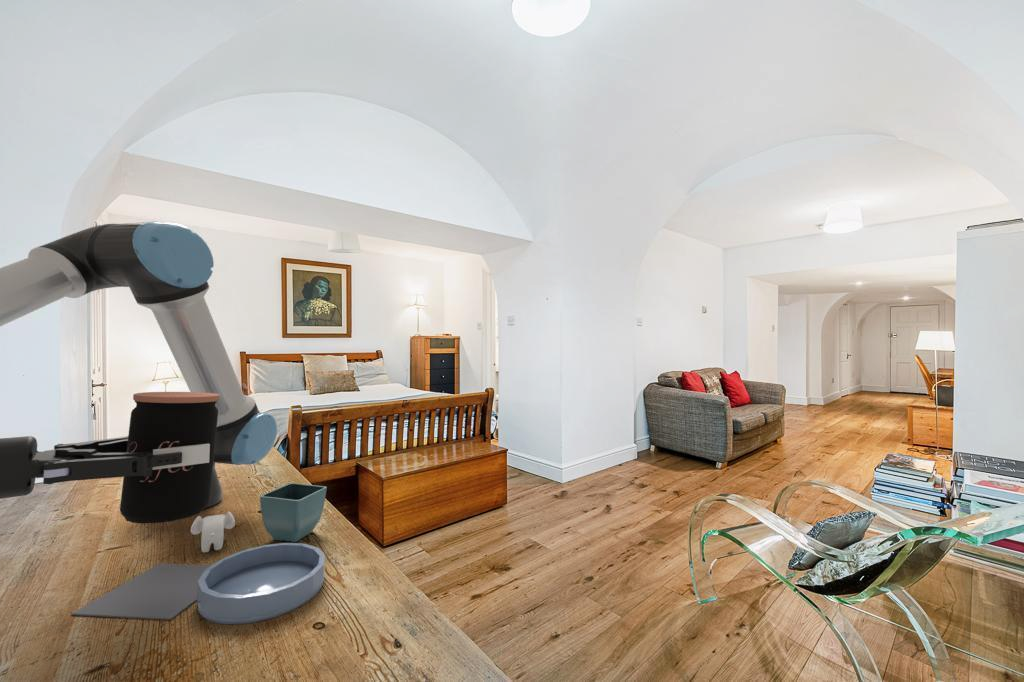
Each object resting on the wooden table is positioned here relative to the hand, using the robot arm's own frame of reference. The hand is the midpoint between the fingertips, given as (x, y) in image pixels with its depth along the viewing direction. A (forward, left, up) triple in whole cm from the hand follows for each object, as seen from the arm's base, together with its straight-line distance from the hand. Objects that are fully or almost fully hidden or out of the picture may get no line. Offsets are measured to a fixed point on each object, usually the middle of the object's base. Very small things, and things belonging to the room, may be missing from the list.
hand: (203, 446), depth 69 cm
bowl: (+2, +12, -21) cm, 24 cm away
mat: (+3, -3, -21) cm, 22 cm away
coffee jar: (+3, -3, -10) cm, 11 cm away
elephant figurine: (-11, -6, -21) cm, 25 cm away
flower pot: (-17, +6, -21) cm, 28 cm away
